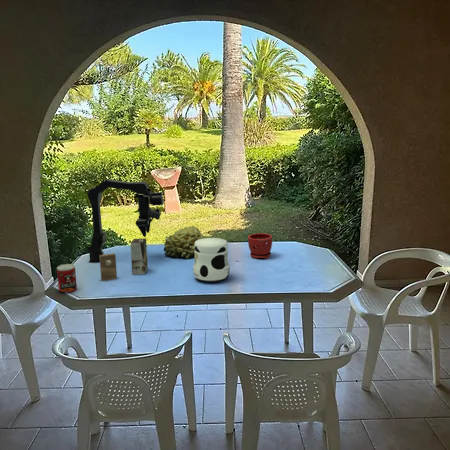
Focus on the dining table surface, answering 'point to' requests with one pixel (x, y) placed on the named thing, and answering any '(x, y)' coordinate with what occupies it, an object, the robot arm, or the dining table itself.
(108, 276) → the dot tablet
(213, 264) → the milk container
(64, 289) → the canned food
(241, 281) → the dining table surface
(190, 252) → the green lumpy mound
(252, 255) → the plant pot
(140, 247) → the coffee box
